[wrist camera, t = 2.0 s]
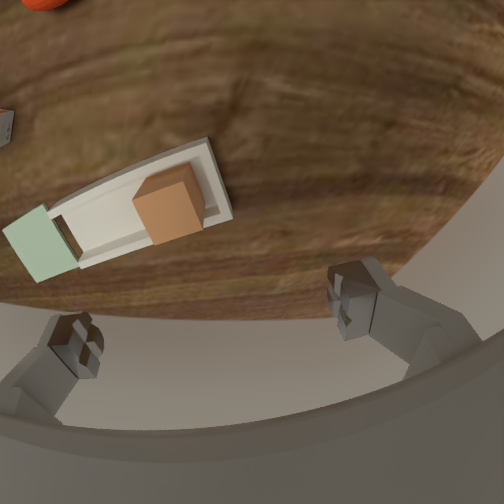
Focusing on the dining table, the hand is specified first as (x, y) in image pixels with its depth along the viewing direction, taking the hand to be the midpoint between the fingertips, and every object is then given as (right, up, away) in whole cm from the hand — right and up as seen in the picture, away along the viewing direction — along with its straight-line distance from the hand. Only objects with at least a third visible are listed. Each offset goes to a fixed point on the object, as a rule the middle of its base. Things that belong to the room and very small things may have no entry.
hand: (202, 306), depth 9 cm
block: (-7, +8, +21) cm, 23 cm away
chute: (-11, +7, +22) cm, 26 cm away
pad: (-28, +3, +23) cm, 36 cm away
